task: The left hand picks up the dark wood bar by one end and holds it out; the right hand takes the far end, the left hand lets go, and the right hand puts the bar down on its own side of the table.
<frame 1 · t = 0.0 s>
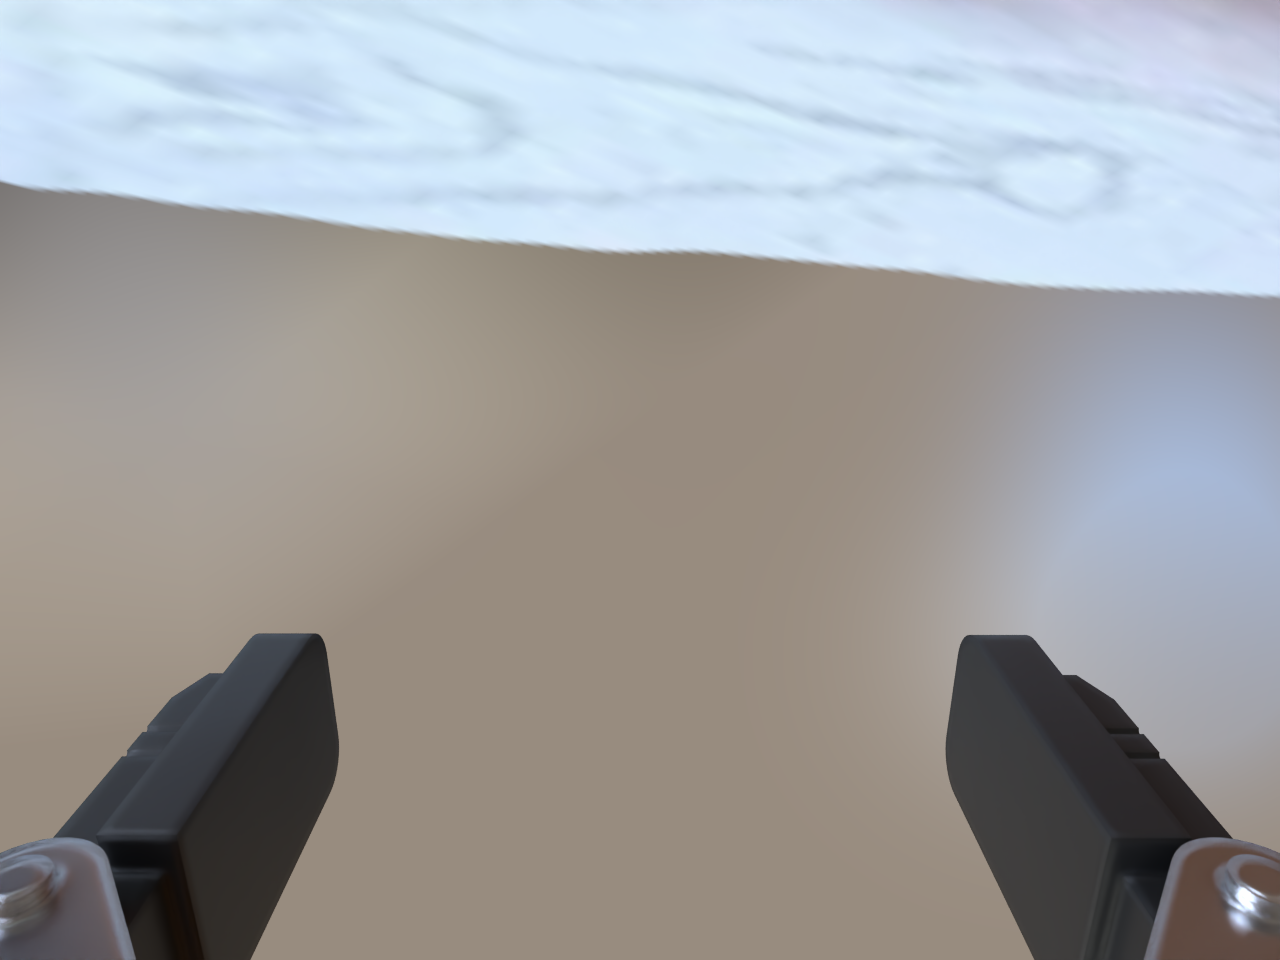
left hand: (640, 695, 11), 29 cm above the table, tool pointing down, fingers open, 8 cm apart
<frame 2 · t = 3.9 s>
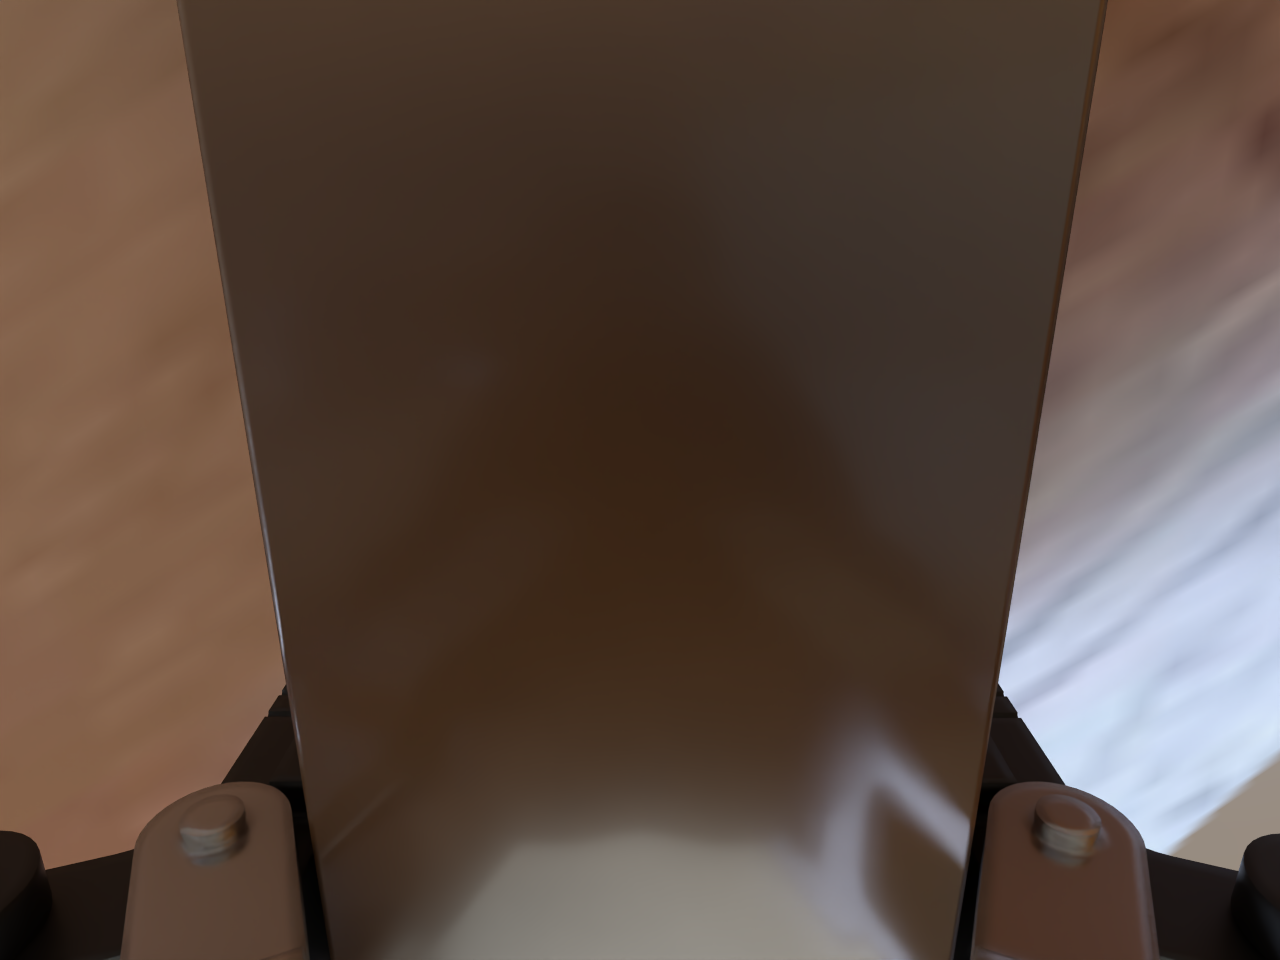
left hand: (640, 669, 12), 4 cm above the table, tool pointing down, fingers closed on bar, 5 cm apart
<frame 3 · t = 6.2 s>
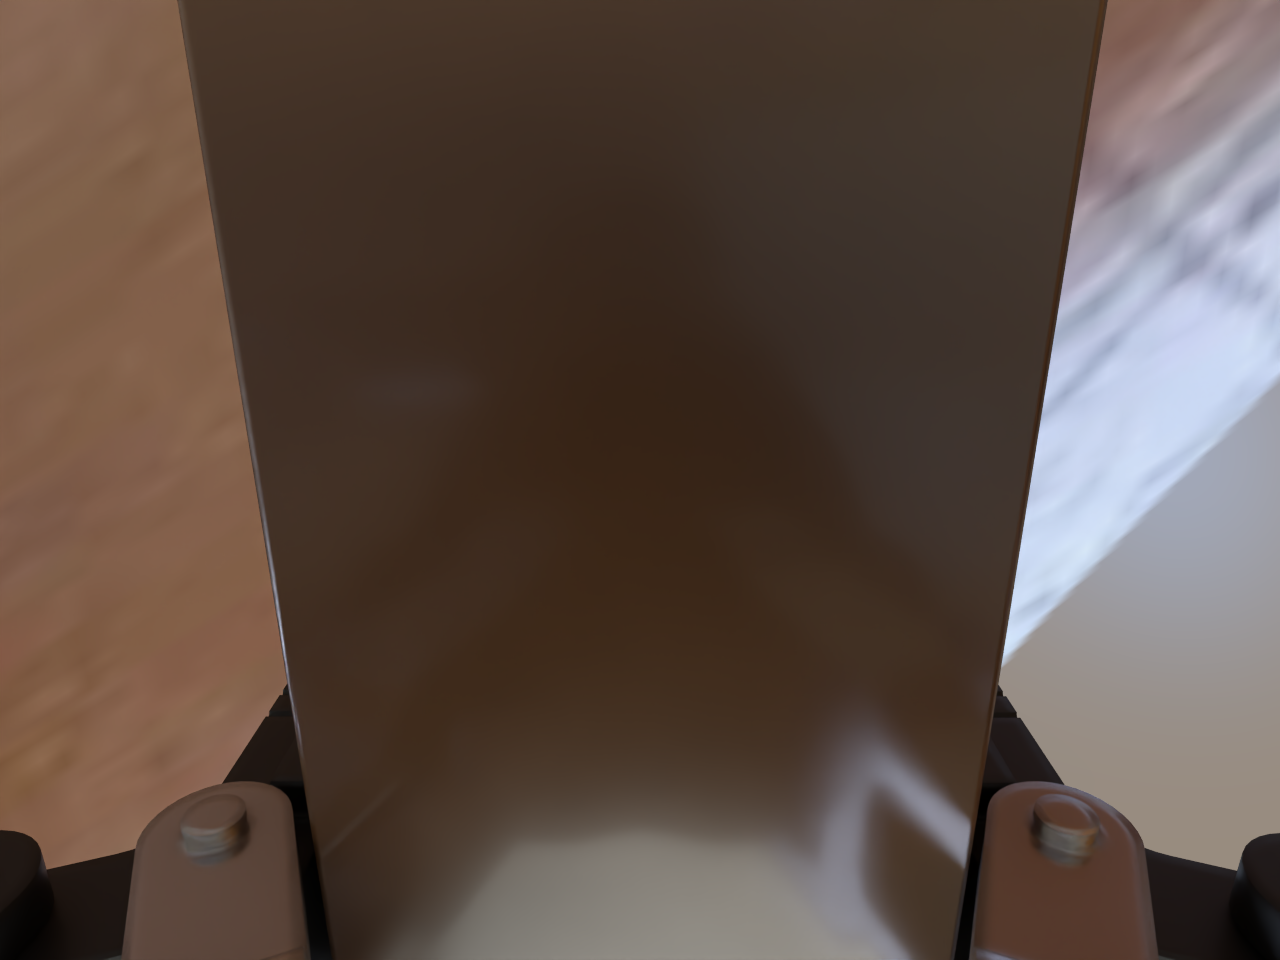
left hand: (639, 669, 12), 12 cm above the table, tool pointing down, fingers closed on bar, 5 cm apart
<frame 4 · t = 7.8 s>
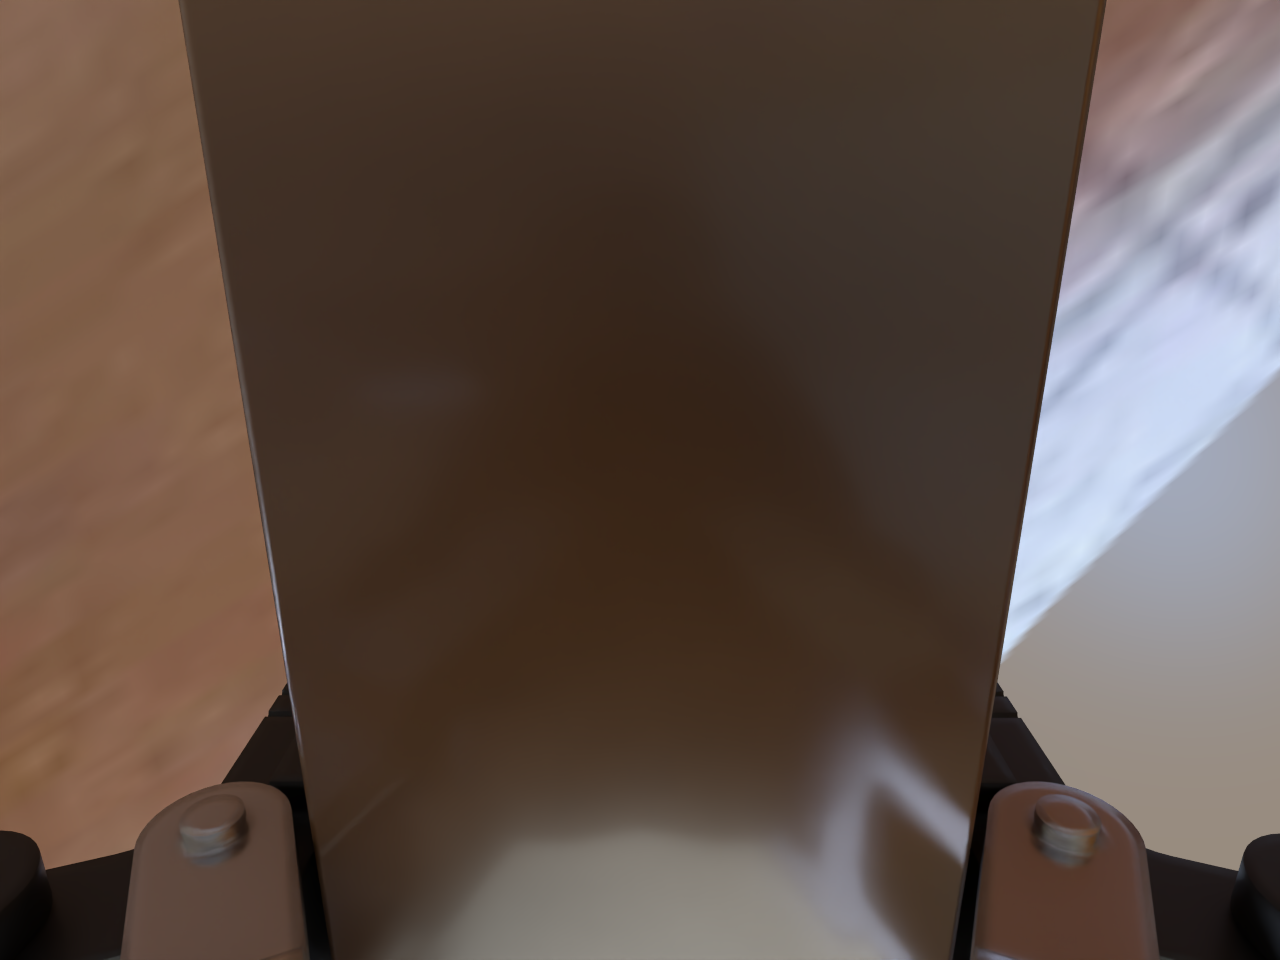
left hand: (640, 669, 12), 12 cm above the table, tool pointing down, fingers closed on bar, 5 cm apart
when the left hand's fingers open (12 cm above the table, at t = 9.0 s): bar stays where it is, held by the right hand.
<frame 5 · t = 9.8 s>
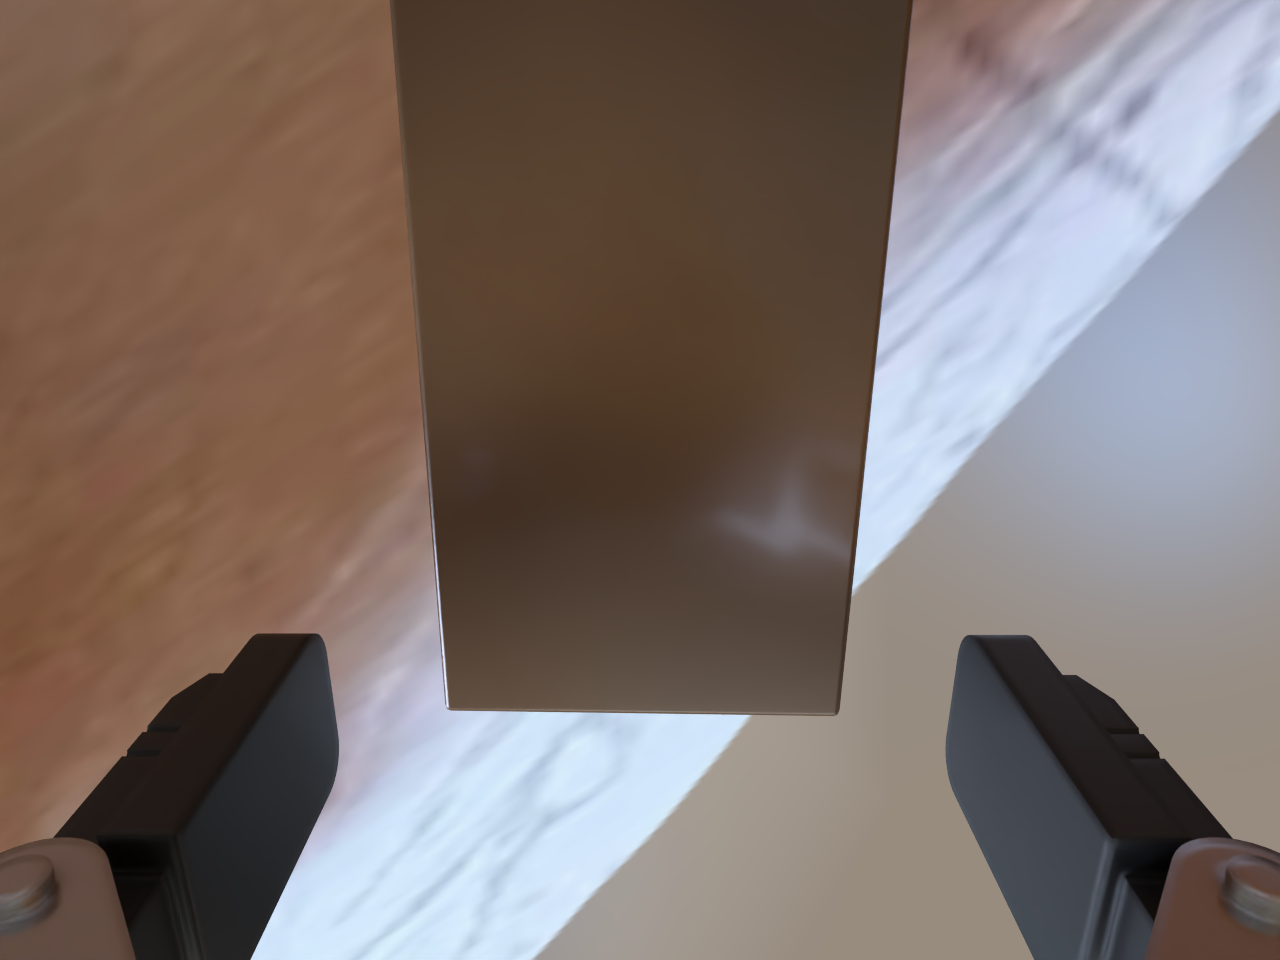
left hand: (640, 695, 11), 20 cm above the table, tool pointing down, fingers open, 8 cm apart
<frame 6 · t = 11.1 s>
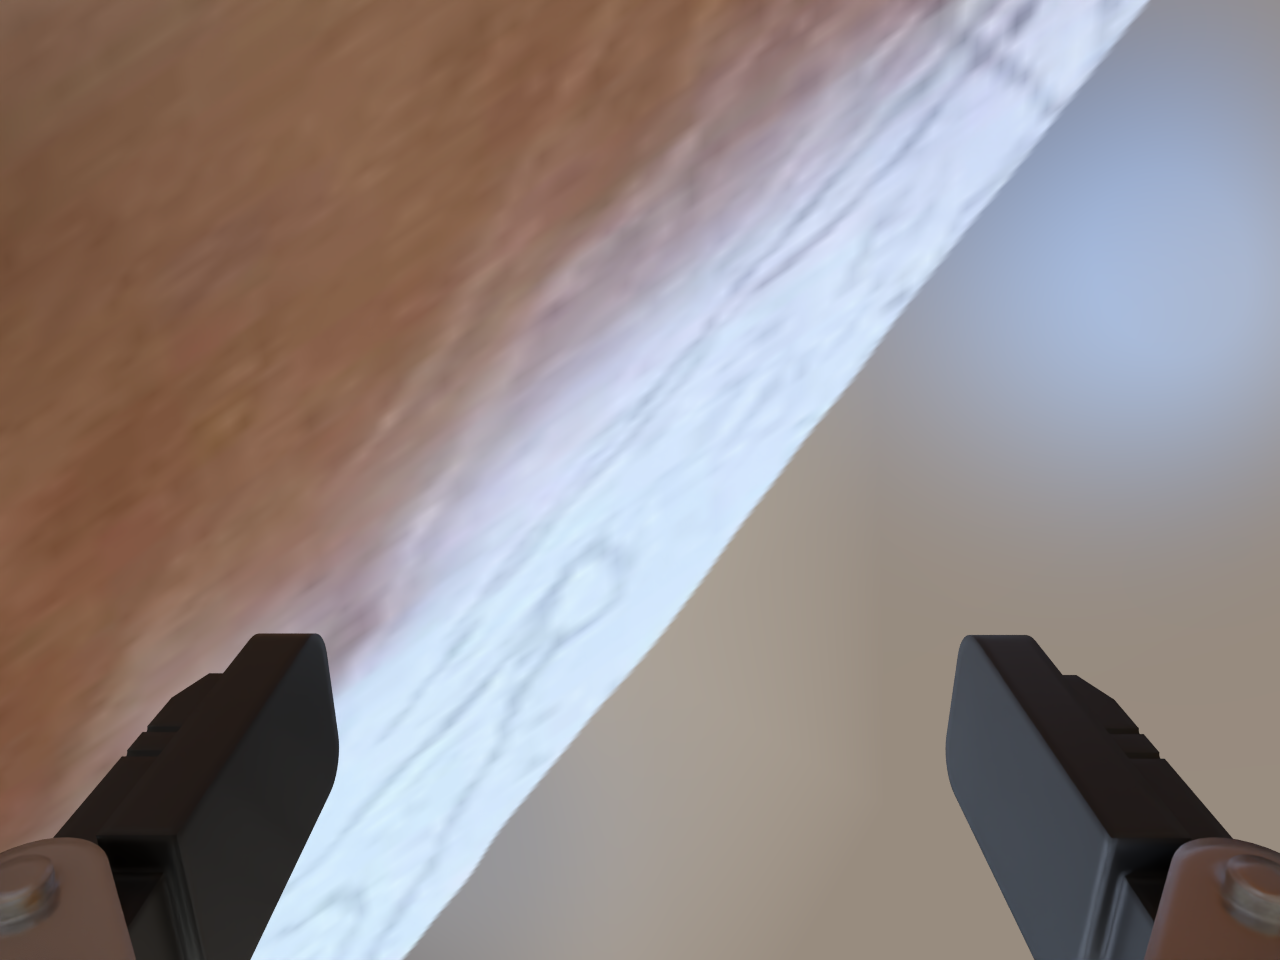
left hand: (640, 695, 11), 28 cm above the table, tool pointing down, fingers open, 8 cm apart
when the right hand's fingers open (5 cm above the table, at t = 14.6 s): bar stays where it is, resting on trading card.
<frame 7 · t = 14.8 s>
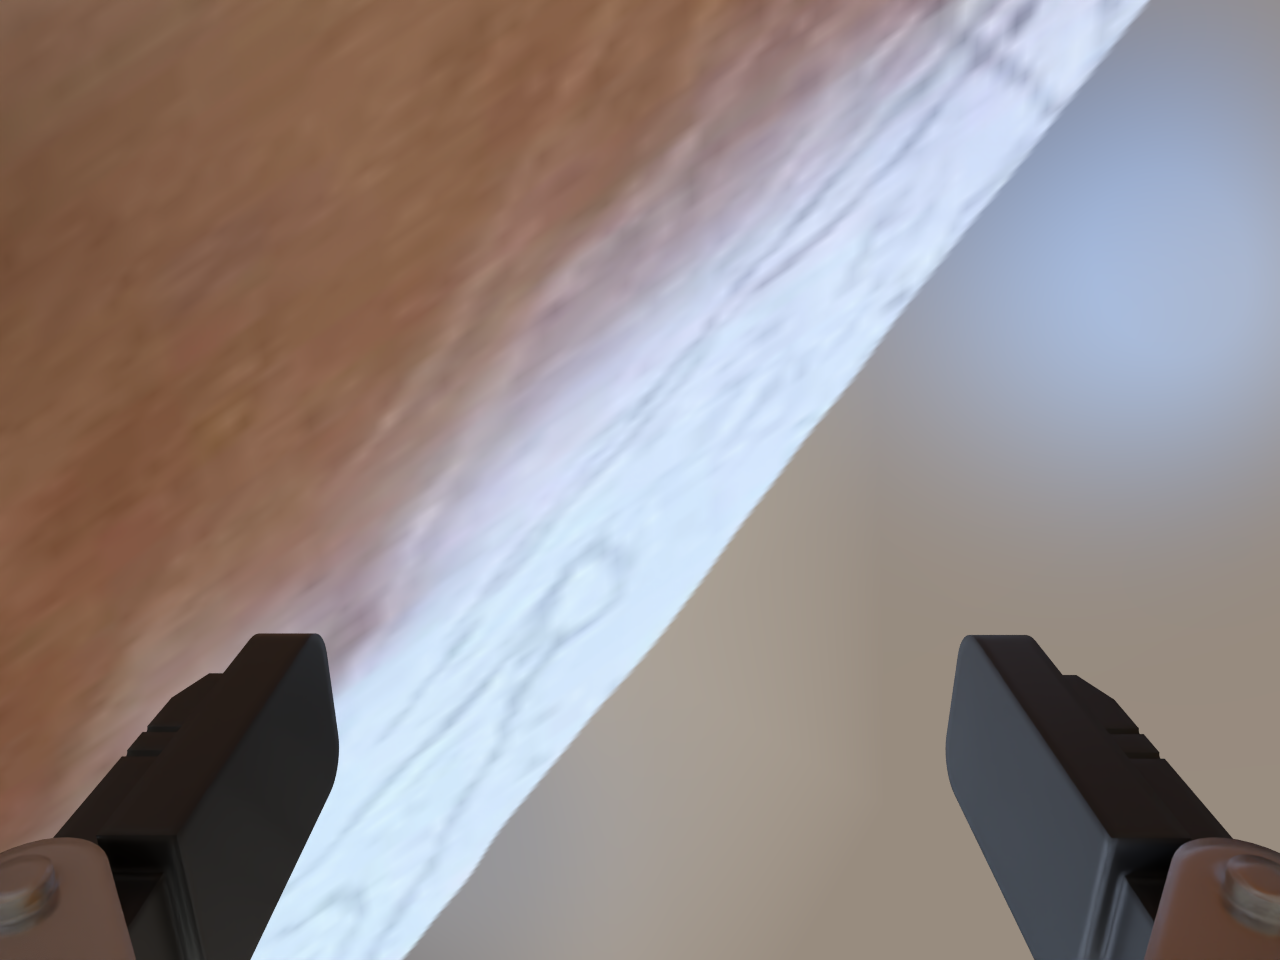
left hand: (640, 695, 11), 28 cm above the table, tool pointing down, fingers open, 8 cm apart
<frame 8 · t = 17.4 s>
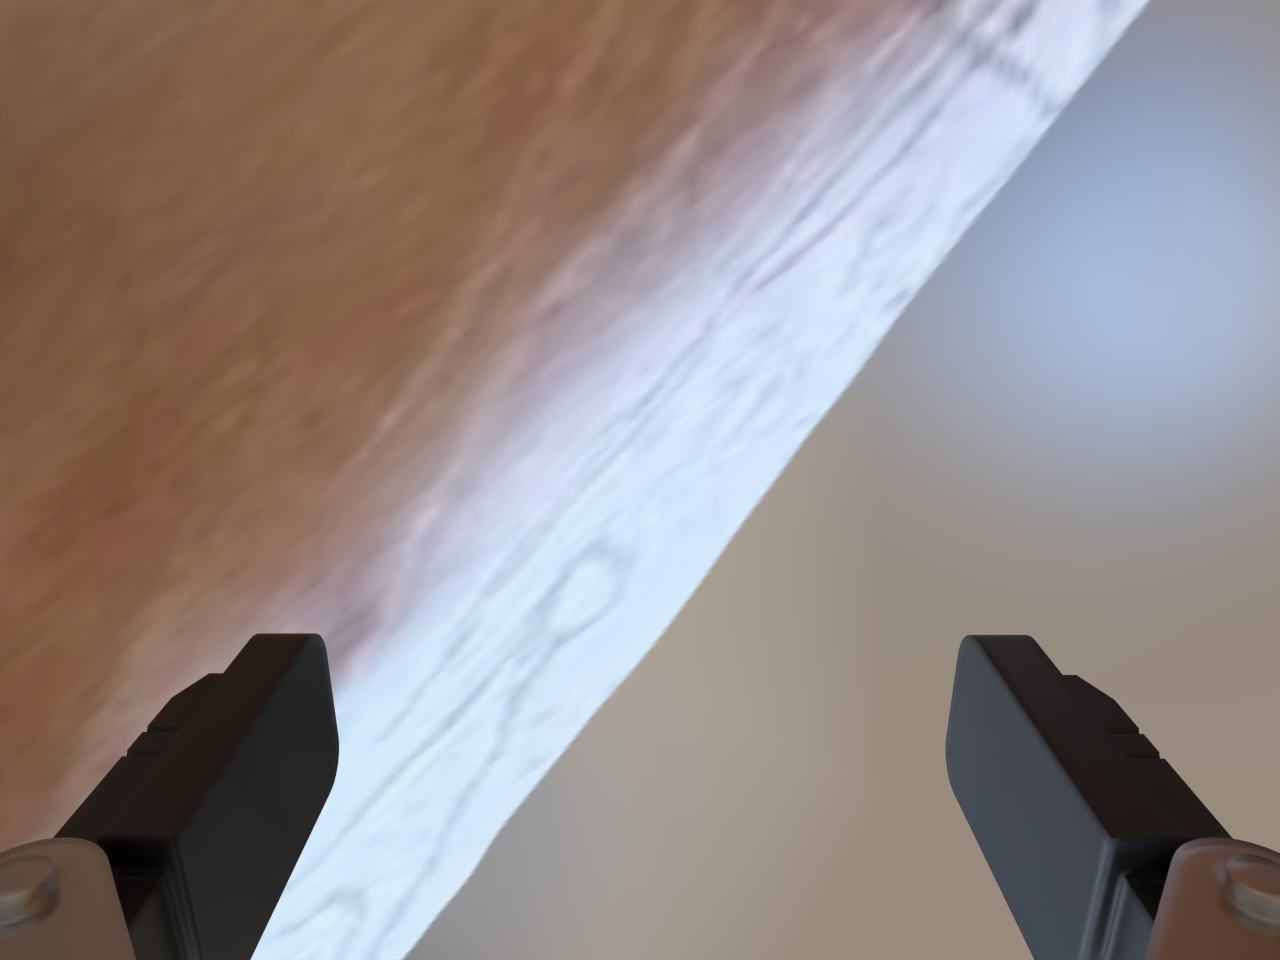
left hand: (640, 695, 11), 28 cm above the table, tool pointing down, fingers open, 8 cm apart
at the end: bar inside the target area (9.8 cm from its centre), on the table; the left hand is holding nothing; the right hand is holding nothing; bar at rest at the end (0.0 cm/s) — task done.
